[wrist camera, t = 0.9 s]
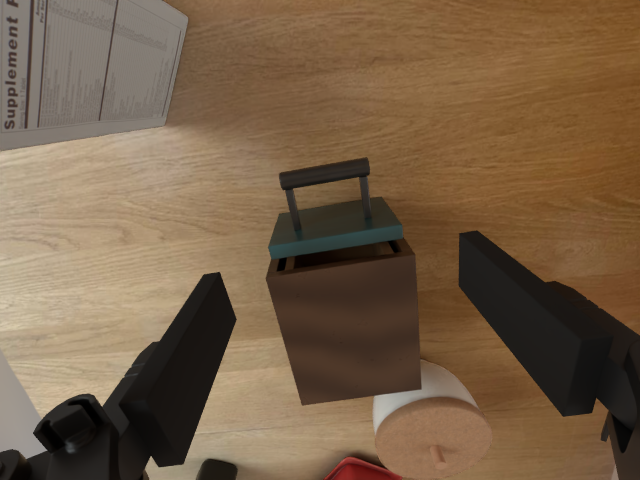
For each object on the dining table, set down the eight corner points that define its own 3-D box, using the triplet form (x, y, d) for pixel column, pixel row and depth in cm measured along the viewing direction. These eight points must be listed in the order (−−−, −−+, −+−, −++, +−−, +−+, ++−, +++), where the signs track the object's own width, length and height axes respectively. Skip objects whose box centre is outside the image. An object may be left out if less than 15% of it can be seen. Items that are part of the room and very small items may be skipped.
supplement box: (71, -46, 23) (-438, -363, 7) (192, 15, 24) (-18, -139, 9) (59, 84, 26) (-303, 53, 11) (165, 130, 28) (-19, 160, 13)
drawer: (267, 165, 28) (251, 184, 21) (377, 145, 28) (398, 159, 21) (304, 319, 36) (301, 372, 29) (391, 306, 35) (411, 357, 28)
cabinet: (278, 231, 32) (265, 278, 23) (387, 213, 32) (415, 254, 23) (305, 336, 38) (301, 405, 29) (396, 323, 37) (421, 389, 29)
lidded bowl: (360, 348, 39) (375, 433, 29) (458, 336, 38) (509, 418, 28) (368, 414, 44) (384, 505, 34) (455, 404, 43) (497, 494, 33)
